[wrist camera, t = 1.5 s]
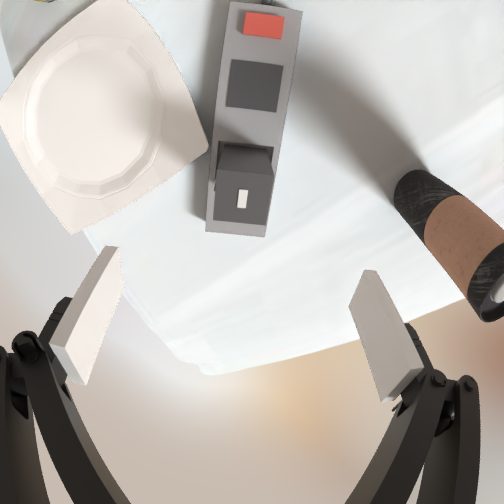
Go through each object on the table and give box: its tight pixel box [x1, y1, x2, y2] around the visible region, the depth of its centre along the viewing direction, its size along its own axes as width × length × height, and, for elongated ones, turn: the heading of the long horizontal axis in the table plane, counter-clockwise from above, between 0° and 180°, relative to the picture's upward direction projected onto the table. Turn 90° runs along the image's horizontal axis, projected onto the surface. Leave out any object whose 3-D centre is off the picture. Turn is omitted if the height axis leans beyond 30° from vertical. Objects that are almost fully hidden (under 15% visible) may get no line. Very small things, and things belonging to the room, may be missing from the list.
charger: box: [213, 144, 274, 226], centre depth 27 cm, size 4×4×9 cm
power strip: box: [205, 0, 303, 237], centre depth 26 cm, size 30×7×3 cm, turn 172°
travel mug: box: [394, 170, 504, 322], centre depth 25 cm, size 8×8×20 cm
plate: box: [0, 0, 209, 234], centre depth 26 cm, size 24×24×3 cm
